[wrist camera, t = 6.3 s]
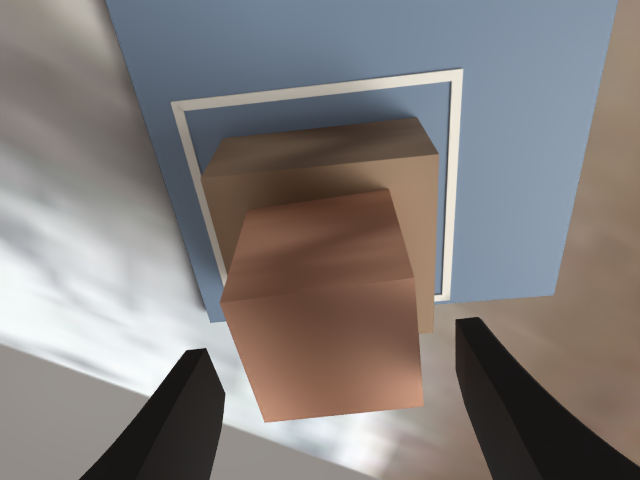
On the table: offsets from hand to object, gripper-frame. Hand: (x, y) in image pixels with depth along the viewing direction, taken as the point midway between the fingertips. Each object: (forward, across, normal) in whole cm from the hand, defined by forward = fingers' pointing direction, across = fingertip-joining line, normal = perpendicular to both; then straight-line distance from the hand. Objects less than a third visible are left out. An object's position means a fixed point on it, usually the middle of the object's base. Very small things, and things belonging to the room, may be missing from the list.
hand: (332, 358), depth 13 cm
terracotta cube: (+5, 0, 0) cm, 5 cm away
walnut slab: (+9, 0, 0) cm, 9 cm away
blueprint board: (+10, -2, -2) cm, 10 cm away
